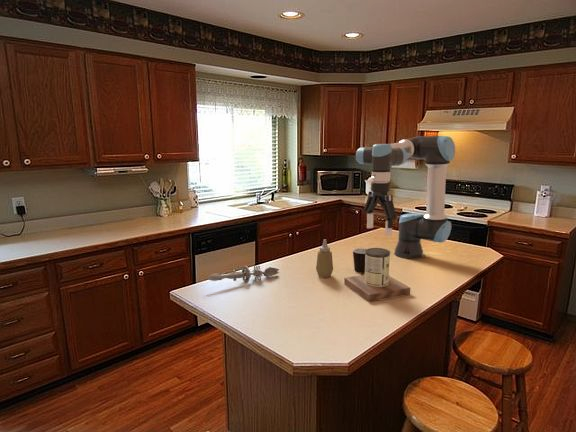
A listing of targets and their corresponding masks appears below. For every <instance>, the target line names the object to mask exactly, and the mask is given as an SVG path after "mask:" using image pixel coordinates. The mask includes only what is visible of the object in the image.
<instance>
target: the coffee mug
mask: <svg viewBox="0 0 576 432" xmlns="http://www.w3.org/2000/svg"><path fill="white" fill-rule="evenodd" d="M366 249H367V248H362V247H360V248H354V249H352V256H353V268H354V269H353V270H354V271H355V272H357V273H360V274H365V250H366Z"/></svg>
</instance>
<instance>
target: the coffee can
mask: <svg viewBox="0 0 576 432" xmlns="http://www.w3.org/2000/svg"><path fill="white" fill-rule="evenodd" d="M365 249H366V250H365V273H364V275H365V281H364V282H365V283H366V284H367V285H369V286H373V287H384V286H387V285H388V284H389V276H390V260H391V259H390V258H391V257H390V256H391V251H390V250H389V249H386V248H381V247H370V248H365Z"/></svg>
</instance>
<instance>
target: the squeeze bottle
mask: <svg viewBox="0 0 576 432" xmlns="http://www.w3.org/2000/svg"><path fill="white" fill-rule="evenodd" d="M327 242H328V240H327V239H323V242H322V245H321V246H319V251H318V252H317V257H316V265H315V270H316V274H317V276H318V278H321V279H328V278H331V276H332V274H333V272H334V263H333V252H332V251H331V247H330V246H329V245H328V243H327Z"/></svg>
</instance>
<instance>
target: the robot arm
mask: <svg viewBox="0 0 576 432" xmlns="http://www.w3.org/2000/svg"><path fill="white" fill-rule="evenodd" d="M455 155H456V145H455V142H454V140H453V138H452V137H450V136H446V135H429V136H428V135H427V136H426V135H421V136H414V137H410V138H405V139H401V140H400V141H399V142H394V143H375V144H373V146H370V147H366V146H364V147H359V148H358V149H357V150H356V152H355V160H356V162H357V163H358V164H360V165H371V181H372V182H371V184H370V185H371V187H370V191H368V194H367V195H368V196H367V199H366V201H365V204H364V208H363V211H364V212H366V229H374V211H375V209H376V207H377V206H378V205H380V207H382V210H383V212H384V215H385V218H386V219H385V227H384V228H385V230H384V232H385V233H384V236H386V237H389V236H392V234H393V223H394V220H397V219H398V218H397V213H396V209H395V205H394V201H393V197H394V196H393V195H388V193H389V192H390V189H391V183H390V181H391V168H392V167H399V166H402V165H404V164H405V163H406V162H407V160H408V159H412V160H413V159H414V160H416V159H417V160H424V165H425V166H426V167H427V182H426V183H427V184H426V187H427V188H426V210H425V211H426V213H424V214H422V213H418V212H417V213H416V212H414V213H413V212H412V213H411V212H410V213H404V214H402V215H400V216H399V221H398V240H397V243H396V245H395V248H394V255H395V256H396V257H398V258H403V259H410V260H414V259H420V258H423V256H424V251H423V247H422V244H421V240H424V241H429V242H433V243H445V242H446V241H447V240H448V238H449V236H450V234H451V230H452V222H451V221H450V220H448V216H447V215H446V213H445V201H446V184H447V183H446V182H447V181H446V180H447V177H446V176H447V167H448V166H449V165H450V162H451V161H453V160H454V158H455Z"/></svg>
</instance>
